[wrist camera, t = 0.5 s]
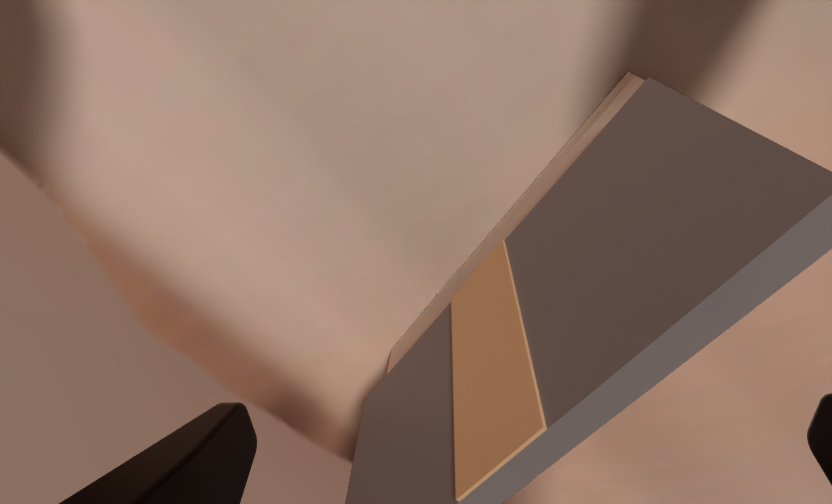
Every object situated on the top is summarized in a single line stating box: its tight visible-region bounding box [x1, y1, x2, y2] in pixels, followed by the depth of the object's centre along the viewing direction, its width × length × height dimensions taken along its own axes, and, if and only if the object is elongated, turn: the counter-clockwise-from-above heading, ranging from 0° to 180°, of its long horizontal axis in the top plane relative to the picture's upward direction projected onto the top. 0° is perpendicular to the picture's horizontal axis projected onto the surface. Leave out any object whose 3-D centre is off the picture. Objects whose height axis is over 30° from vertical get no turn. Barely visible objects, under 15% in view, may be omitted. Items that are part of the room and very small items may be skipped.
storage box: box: [387, 72, 645, 374], centre depth 20 cm, size 8×16×4 cm, turn 146°
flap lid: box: [345, 77, 832, 504], centre depth 14 cm, size 8×16×1 cm
